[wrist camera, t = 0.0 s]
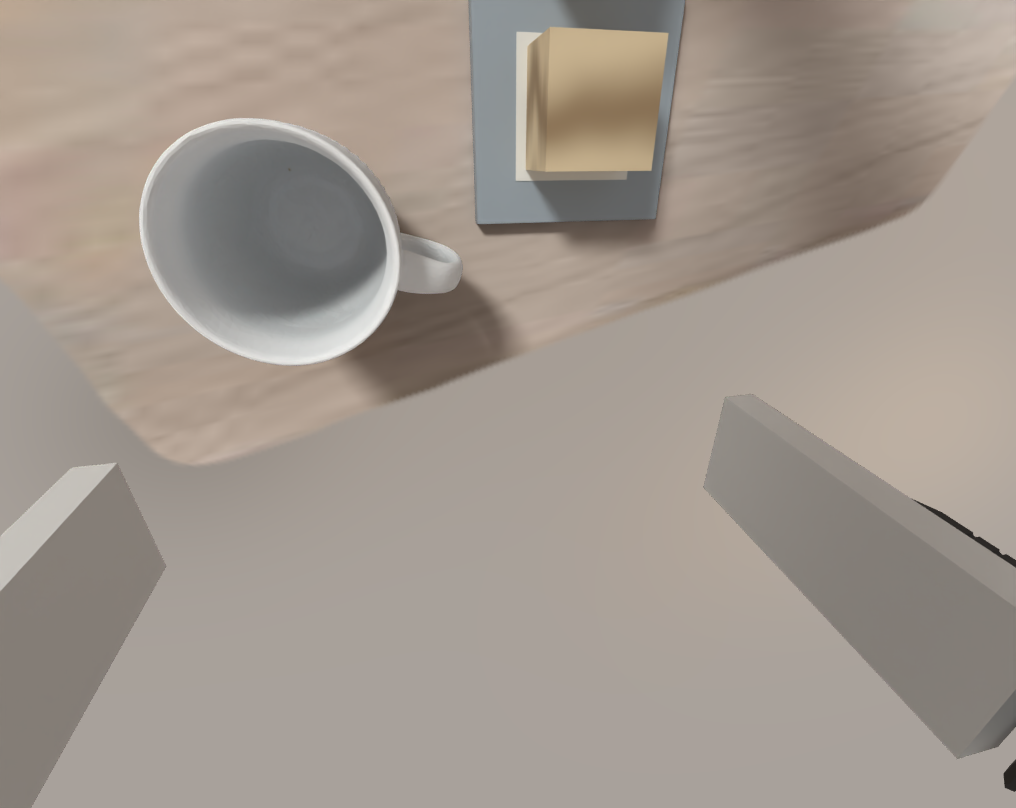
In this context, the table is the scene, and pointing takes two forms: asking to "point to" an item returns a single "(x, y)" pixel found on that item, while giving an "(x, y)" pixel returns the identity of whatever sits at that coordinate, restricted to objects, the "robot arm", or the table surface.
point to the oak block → (593, 99)
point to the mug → (280, 242)
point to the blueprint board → (503, 103)
